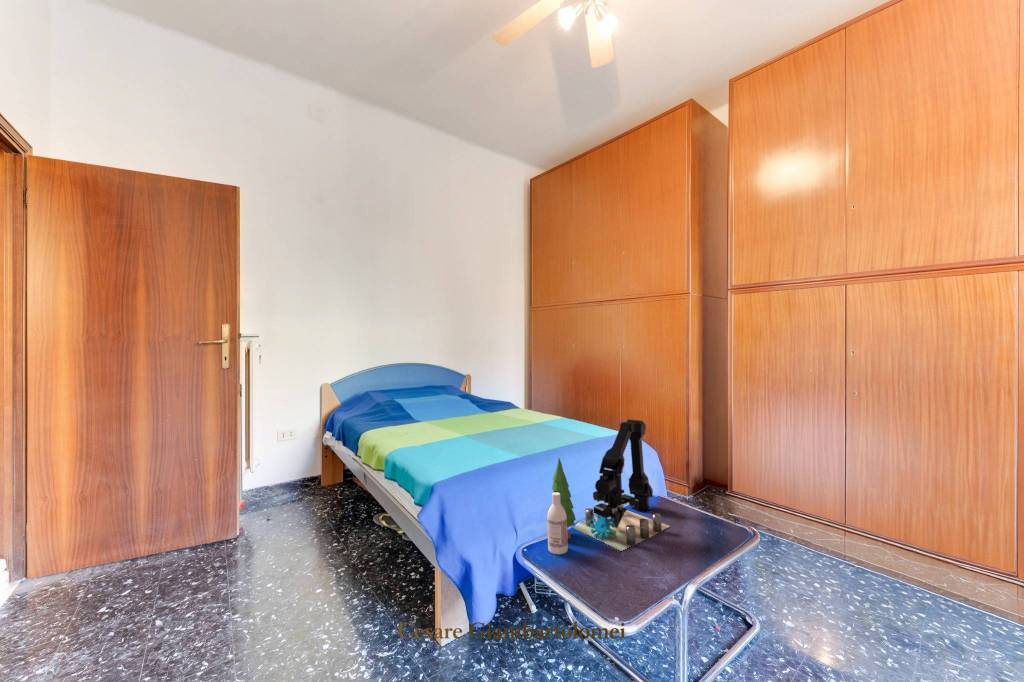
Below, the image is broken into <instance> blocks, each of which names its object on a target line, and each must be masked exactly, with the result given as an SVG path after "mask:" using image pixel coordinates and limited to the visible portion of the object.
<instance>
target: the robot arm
mask: <svg viewBox="0 0 1024 682" xmlns="http://www.w3.org/2000/svg"><path fill="white" fill-rule="evenodd" d="M646 425H647V424H646V423H645V422H644V420H640V419H627V421H622V422H620V424H619V430H618V432H617V435H616V437H615V440H614V442H613V444H612V446H611V447H610V448H609V449H608V450H606V452H605V454H604V456H602V460H601V464H600V466H599V467H600V468H599V471H598V472H599V474H601V475H600V476H599V479H597V480H596V482H595V484H594V488H595V491H594V492H592V497H593V500H594V501H597V503H598V502H600V503H601V504H600V503H598V504H597V505H594V506H593V512H594V514H595V515H597V514H598V515H600V516H602V517H608V516H611V517H613V518H614V522H613V523H614V524H615V527H616V528H617V527H618V525H619V523H620V521H621V519H622V517H623V515H624V513H625V511H626V510H628V509H627V508H626V507H624V505H626V504H628V503H629V504H628V505H629V506H630V507H631V509H633V510H635V509H636V511H638V510H639V511H638V512H641V511H642V512H641V513H646V512H648V511H651V510H653V507H652V506H650V498H653V493H654V490H653V487H652V486H651V484H650V482H649V481H650V480H649V477H648V475H646V473H645V470H644V469H645V468H644V454H643V438H644V436H645V435H646V431H647V426H646ZM629 441H630V452H631V453H630V454H631V456H630V457H631V469H632V473H631V475H630V477H629V478H628V491H629V494H630V495H629V494H626V493H625V489H623V486H622V485H623V484H622V475H623V474H622V473H624V472H623V470H624V467H625V457H624V454H625V451H626V449H627V447H628V443H629ZM632 495H633V496H632ZM602 503H604V504H606V505H604V504H602ZM650 509H651V510H650ZM645 511H646V512H645Z"/></svg>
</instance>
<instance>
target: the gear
mask: <svg viewBox="0 0 1024 682" xmlns="http://www.w3.org/2000/svg"><path fill="white" fill-rule="evenodd" d="M595 516H596V517H594V518H593V519H592V521H593V522H595V526H594V525H593V524H592V523H591V524H590V527H591V528H596V529H595V530H593V529H591V533H592V534H593V533H595V532H598V533H596V534H594V536H595V537H596V538H597V537H598V535H599V534H601V533H602V534H601V535H600V536H599V538H600V539H603V535H604V533H606V534H605V537H606V538H608V537H609V535H608V533H609V534H610V535H612V536H615V537H616V538H617V536H616V535H615V534H616V533H617V532H616V531H615V530H612V529H610V525H611V526H612V527H613V528H614V527H615V524H614V523H609V522H610V521H612V522H614V518H613V517H611V516H608V517H604V518H603V517H602V516H601V518H600V515H598V514H595ZM610 517H611V518H610ZM595 518H597V521H596V519H595ZM599 518H600V519H599ZM607 518H610V519H607Z"/></svg>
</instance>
